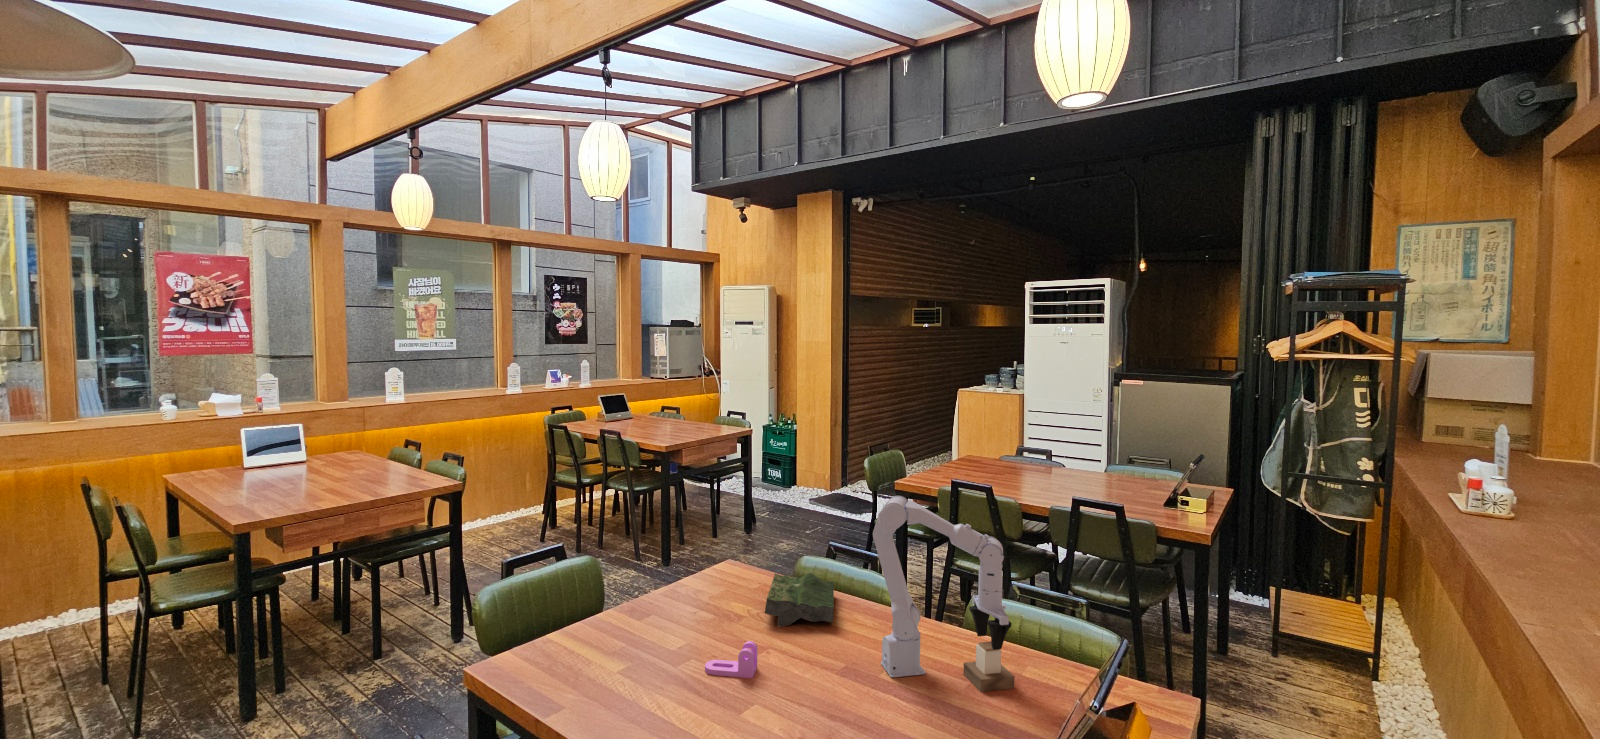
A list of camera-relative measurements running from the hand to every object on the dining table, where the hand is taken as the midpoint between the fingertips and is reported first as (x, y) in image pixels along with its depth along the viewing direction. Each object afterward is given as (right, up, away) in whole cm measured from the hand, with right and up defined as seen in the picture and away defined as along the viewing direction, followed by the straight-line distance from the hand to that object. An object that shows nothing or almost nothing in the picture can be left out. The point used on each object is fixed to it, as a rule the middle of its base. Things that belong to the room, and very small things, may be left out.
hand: (989, 642), depth 163 cm
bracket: (-65, -9, +4) cm, 66 cm away
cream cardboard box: (0, -7, 0) cm, 7 cm away
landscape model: (-47, -9, +44) cm, 65 cm away
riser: (0, -10, 0) cm, 10 cm away
